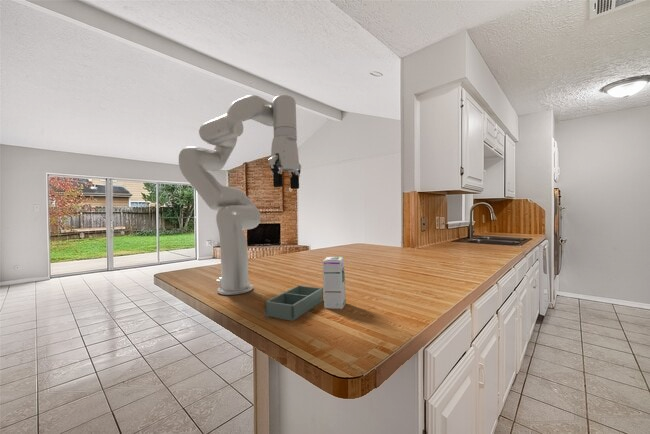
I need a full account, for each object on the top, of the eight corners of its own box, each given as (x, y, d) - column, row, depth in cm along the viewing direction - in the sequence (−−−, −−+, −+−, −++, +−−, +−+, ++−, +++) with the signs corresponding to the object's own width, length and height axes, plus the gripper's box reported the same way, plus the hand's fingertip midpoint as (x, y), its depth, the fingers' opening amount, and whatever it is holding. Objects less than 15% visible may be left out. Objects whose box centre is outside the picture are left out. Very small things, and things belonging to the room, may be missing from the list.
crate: (293, 320, 74) (292, 305, 74) (265, 315, 78) (265, 301, 78) (323, 300, 90) (323, 288, 90) (298, 297, 94) (298, 285, 94)
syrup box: (343, 309, 81) (342, 260, 81) (323, 308, 83) (322, 259, 82) (345, 302, 87) (344, 256, 87) (327, 302, 88) (326, 256, 88)
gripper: (290, 142, 101) (291, 189, 102) (259, 131, 86) (260, 187, 86) (308, 139, 98) (309, 188, 98) (279, 127, 82) (281, 185, 83)
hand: (286, 187), depth 92 cm, fingers open, 9 cm apart
